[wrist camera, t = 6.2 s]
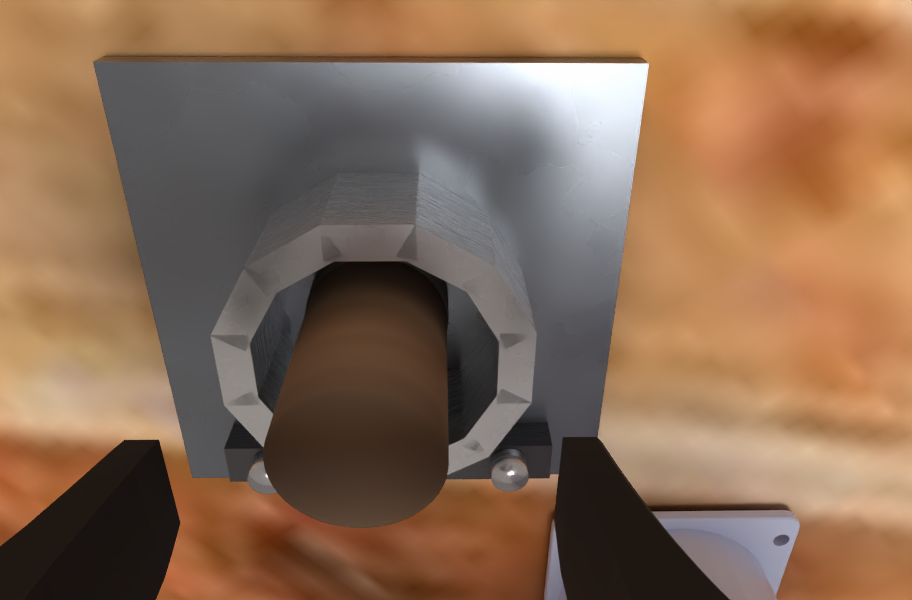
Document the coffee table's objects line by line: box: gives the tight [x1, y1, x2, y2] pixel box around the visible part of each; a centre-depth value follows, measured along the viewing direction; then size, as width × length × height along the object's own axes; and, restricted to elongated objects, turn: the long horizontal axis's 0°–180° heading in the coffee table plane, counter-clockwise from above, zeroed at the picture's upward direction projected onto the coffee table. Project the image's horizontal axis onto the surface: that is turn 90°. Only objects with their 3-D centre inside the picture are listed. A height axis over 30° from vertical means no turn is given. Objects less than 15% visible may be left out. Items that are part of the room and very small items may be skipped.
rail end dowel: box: [263, 261, 449, 528], centre depth 16 cm, size 4×4×6 cm
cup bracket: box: [93, 56, 649, 494], centre depth 17 cm, size 12×12×4 cm
